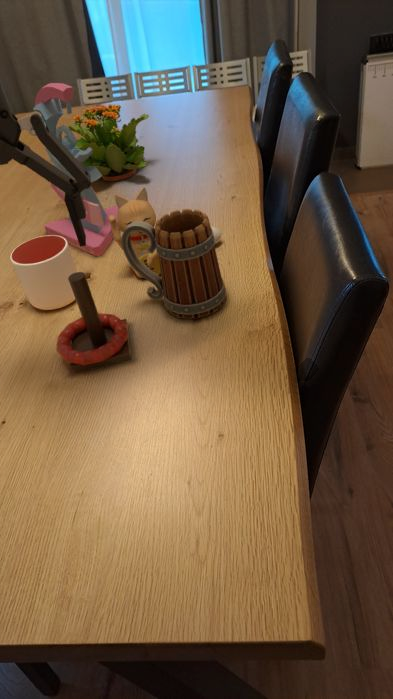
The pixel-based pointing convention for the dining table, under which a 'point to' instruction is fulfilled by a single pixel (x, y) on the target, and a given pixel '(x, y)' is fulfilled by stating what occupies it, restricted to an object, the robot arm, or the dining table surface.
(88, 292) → the stand
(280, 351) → the dining table surface
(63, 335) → the ring
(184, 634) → the dining table surface
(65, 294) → the cup
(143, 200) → the figurine
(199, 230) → the mug
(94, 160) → the potted flower
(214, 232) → the egg
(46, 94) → the trophy
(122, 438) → the dining table surface
